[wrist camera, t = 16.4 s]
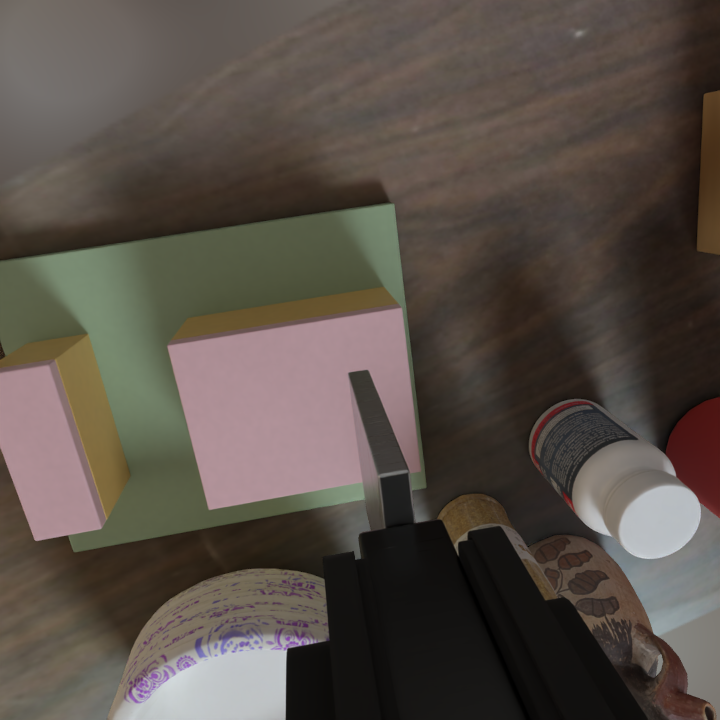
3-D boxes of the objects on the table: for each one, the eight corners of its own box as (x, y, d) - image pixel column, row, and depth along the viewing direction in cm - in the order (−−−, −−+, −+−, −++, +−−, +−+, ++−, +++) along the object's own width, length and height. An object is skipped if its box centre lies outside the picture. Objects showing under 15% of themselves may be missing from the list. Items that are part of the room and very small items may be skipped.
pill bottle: (510, 458, 34) (581, 549, 26) (556, 383, 33) (645, 452, 25) (581, 489, 36) (671, 585, 27) (628, 417, 34) (736, 495, 26)
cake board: (-16, 262, 28) (-27, 265, 27) (390, 202, 29) (394, 202, 28) (79, 542, 33) (73, 553, 32) (423, 479, 34) (427, 488, 33)
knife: (329, 374, 16) (420, 848, 5) (386, 366, 16) (613, 807, 5) (350, 515, 17) (460, 1150, 6) (402, 506, 17) (609, 1113, 6)
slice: (26, 343, 28) (-28, 376, 24) (88, 333, 28) (48, 364, 24) (74, 485, 31) (34, 542, 26) (131, 476, 31) (102, 529, 26)
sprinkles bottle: (515, 533, 36) (638, 728, 23) (450, 565, 36) (536, 776, 23) (488, 477, 35) (604, 651, 22) (420, 510, 35) (495, 702, 22)
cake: (187, 317, 29) (166, 345, 24) (384, 286, 29) (402, 307, 25) (221, 460, 31) (208, 510, 26) (402, 428, 32) (421, 471, 27)
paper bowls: (200, 759, 39) (178, 900, 31) (96, 583, 34) (40, 699, 26) (415, 683, 39) (445, 804, 31) (342, 496, 34) (356, 587, 26)
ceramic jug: (483, 581, 37) (569, 761, 25) (570, 511, 36) (700, 665, 25) (546, 642, 39) (651, 833, 28) (630, 577, 38) (775, 747, 27)
